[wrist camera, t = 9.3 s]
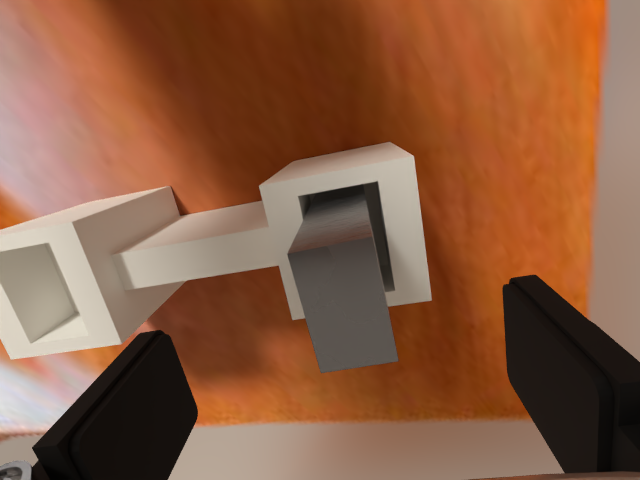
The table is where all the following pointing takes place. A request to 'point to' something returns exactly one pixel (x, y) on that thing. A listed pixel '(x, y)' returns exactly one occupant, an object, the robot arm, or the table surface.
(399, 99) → the table surface
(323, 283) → the gray rectangular block
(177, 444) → the robot arm
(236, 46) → the table surface
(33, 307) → the double socket connector
